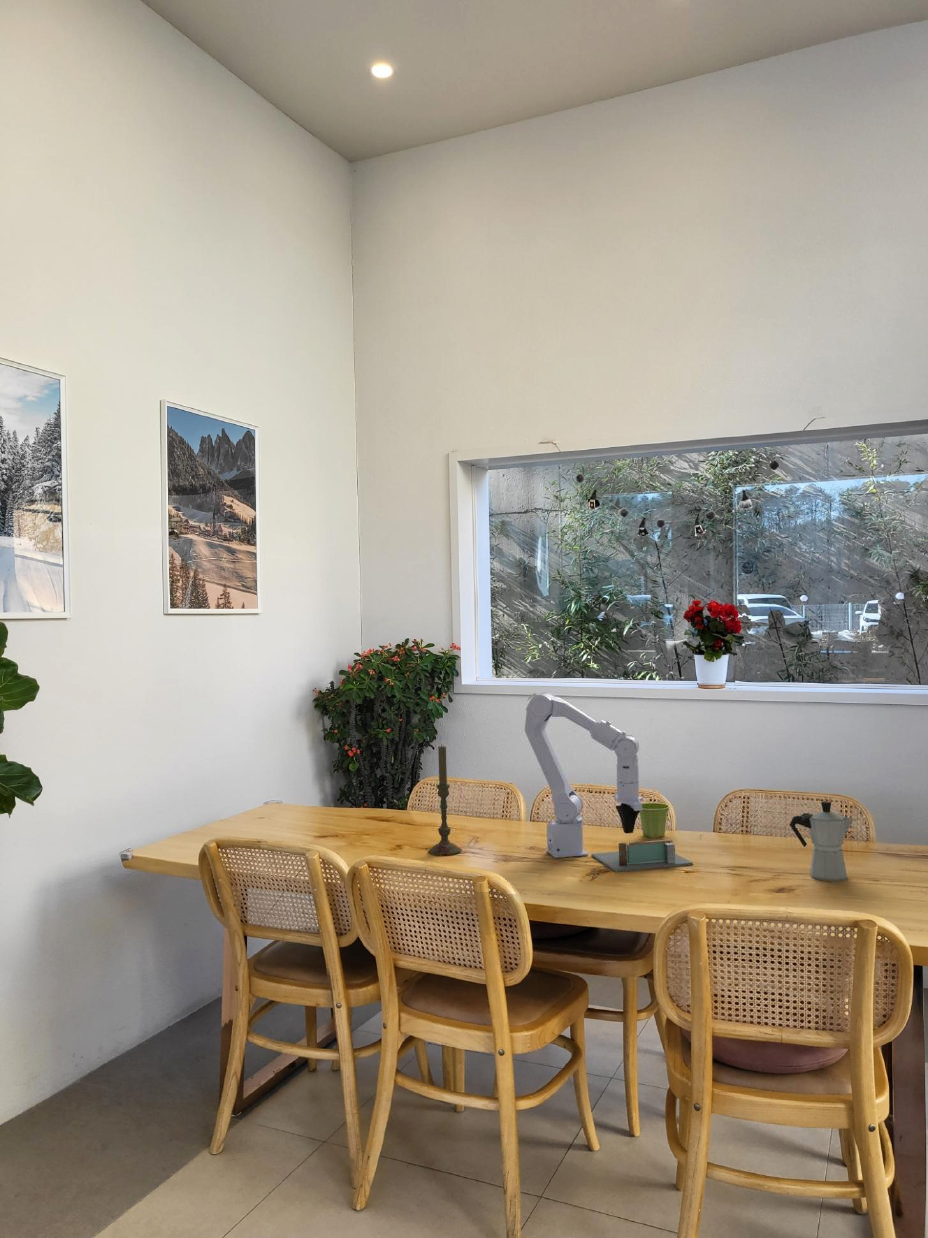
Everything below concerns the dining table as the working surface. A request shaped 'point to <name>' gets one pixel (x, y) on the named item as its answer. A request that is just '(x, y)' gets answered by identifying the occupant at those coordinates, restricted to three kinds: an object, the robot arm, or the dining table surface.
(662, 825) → the plant pot
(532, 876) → the dining table surface
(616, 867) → the slate mat
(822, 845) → the coffee maker
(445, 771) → the candlestick holder
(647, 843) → the gate
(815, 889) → the dining table surface
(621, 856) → the hinge post
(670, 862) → the dark grey rectangular block
